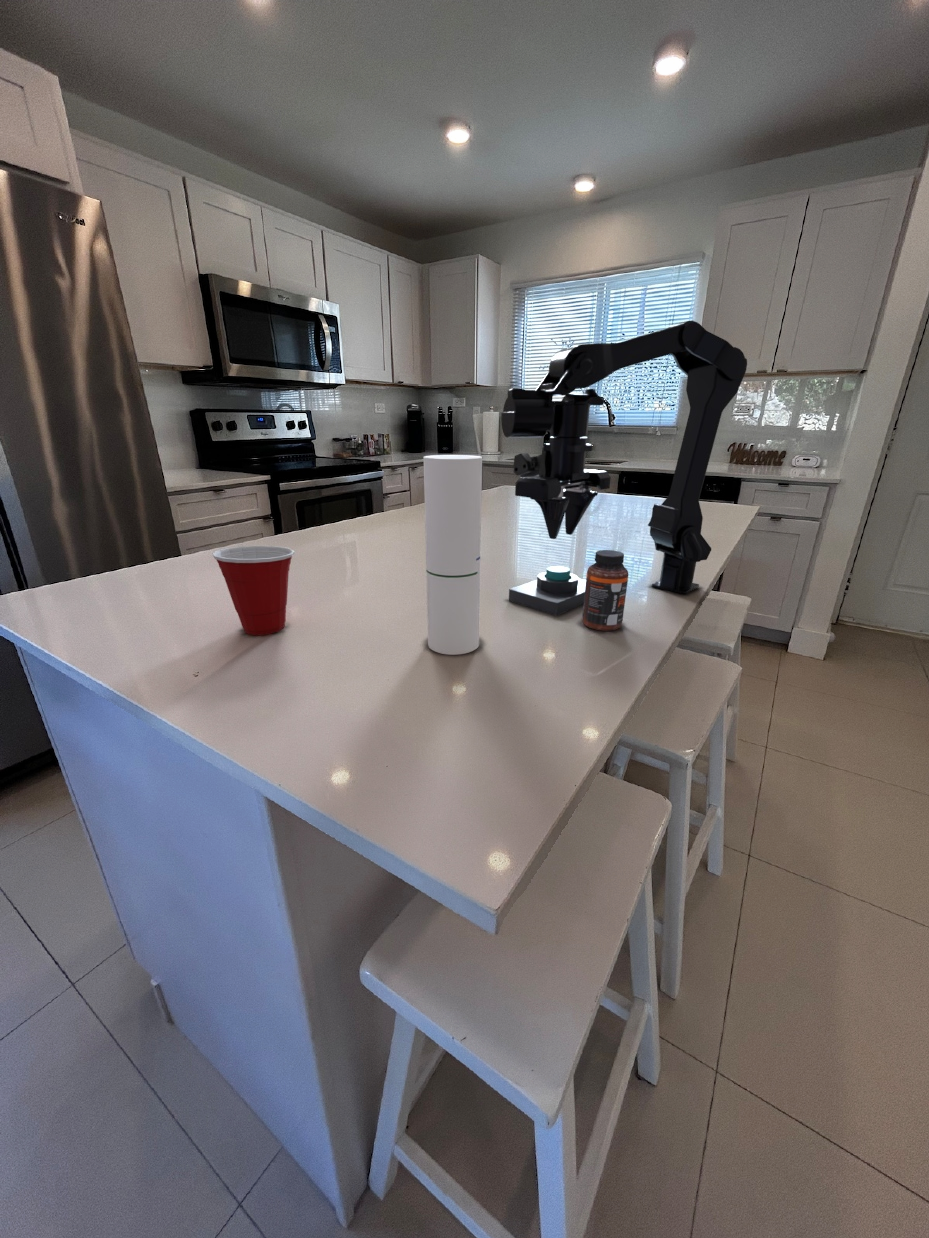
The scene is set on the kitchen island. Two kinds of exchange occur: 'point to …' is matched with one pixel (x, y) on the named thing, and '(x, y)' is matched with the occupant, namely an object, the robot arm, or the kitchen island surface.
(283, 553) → the plastic cup
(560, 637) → the kitchen island surface
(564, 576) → the lid button
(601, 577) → the supplement bottle
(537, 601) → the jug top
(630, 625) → the kitchen island surface
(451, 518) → the cylindrical container
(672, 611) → the kitchen island surface
